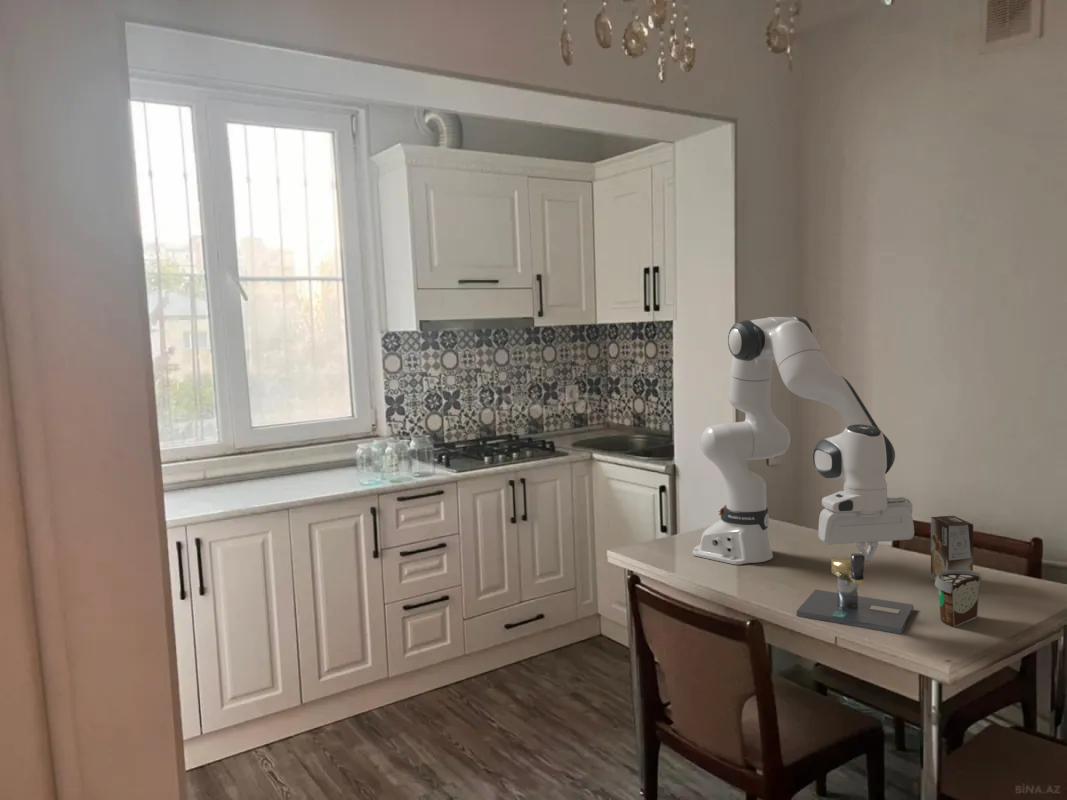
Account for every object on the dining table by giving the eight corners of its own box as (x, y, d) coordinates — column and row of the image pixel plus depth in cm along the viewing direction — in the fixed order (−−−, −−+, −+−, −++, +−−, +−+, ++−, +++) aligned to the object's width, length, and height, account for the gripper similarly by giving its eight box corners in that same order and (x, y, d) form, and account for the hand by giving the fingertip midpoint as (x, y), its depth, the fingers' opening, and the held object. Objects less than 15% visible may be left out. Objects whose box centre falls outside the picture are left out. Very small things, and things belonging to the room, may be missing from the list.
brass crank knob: (828, 568, 184) (828, 540, 184) (859, 568, 183) (859, 539, 183) (842, 587, 171) (842, 557, 170) (875, 587, 170) (875, 557, 169)
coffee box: (974, 588, 191) (975, 524, 189) (948, 589, 191) (948, 525, 189) (953, 576, 200) (954, 515, 198) (928, 577, 200) (929, 516, 198)
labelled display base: (796, 615, 178) (796, 580, 178) (815, 594, 192) (815, 561, 191) (901, 634, 166) (901, 596, 165) (913, 609, 179) (913, 574, 178)
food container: (953, 607, 179) (954, 565, 178) (981, 615, 174) (981, 572, 173) (922, 620, 173) (923, 577, 172) (950, 629, 167) (950, 584, 166)
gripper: (904, 493, 174) (905, 554, 175) (814, 499, 173) (816, 560, 174) (919, 499, 168) (920, 562, 169) (826, 505, 167) (828, 568, 168)
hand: (866, 561), depth 172 cm, fingers closed
